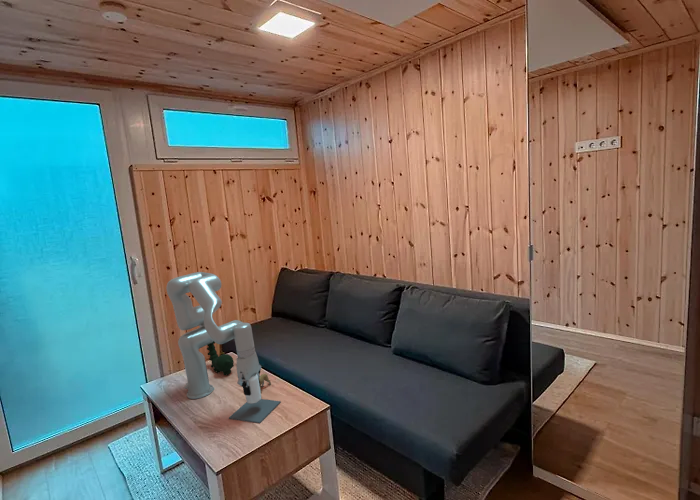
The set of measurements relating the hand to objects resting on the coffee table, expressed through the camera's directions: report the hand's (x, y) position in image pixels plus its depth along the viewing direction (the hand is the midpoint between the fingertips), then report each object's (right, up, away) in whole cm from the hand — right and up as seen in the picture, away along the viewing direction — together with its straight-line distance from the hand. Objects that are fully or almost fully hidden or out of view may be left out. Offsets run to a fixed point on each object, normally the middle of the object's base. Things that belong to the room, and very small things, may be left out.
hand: (252, 390), depth 166 cm
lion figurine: (0, -7, +19) cm, 20 cm away
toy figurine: (-28, -7, +46) cm, 54 cm away
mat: (+1, -9, +1) cm, 10 cm away
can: (+1, -5, +1) cm, 5 cm away
